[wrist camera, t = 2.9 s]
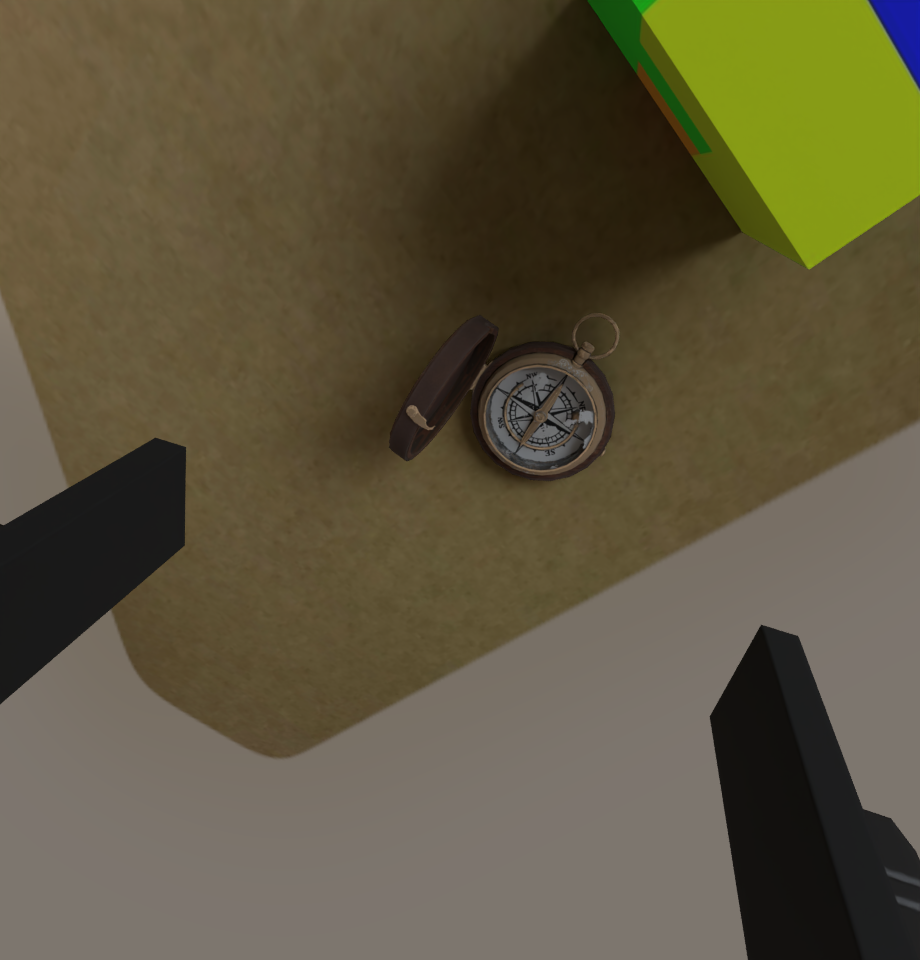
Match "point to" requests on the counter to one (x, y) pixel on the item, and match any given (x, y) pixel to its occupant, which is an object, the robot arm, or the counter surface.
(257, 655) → the counter surface
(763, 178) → the puzzle toy
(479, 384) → the compass
